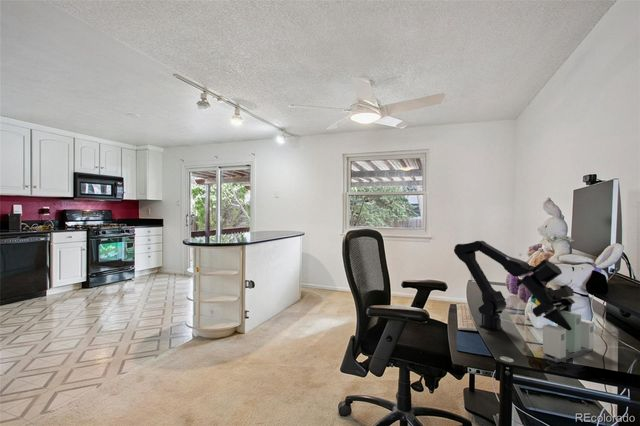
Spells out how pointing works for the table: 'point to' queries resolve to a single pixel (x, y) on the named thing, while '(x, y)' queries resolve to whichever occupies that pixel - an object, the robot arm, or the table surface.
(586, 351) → the rail
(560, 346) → the mounted modules
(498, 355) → the table surface
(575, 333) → the block
